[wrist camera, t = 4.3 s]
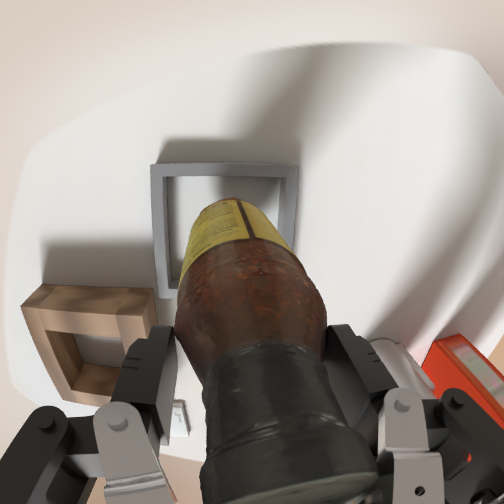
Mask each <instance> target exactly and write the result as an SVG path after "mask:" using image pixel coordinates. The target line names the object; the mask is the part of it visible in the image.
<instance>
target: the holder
mask: <svg viewBox="0 0 504 504" xmlns="http://www.w3.org/2000/svg"><path fill="white" fill-rule="evenodd" d="M20 307H21V310H22V313H23V316H24V318H25V321H26V324H27V326H28V329H29V331H30V334H31V336H32V339H33V341H34V344H35V346H36V348H37V350H38V353H39V355H40V357H41V359H42V361H43V363H44V365H45V368H46V370H47V372H48V374H49V376H50V377H51V379H52V381H53V383H54V385H55V387H56V389H57V391H58V392H59V394H60V396H61V398H62V399H63V400H66V401H70V402H75V403H80V404H85V405H90V406H96V407H101V406H103V405H105V404H107V403H110V400H111V397H112V394H113V391H114V388H115V385H116V382H117V379H118V376H119V374H120V371H121V368H116V367H107V366H98V365H91V364H84V363H83V361H82V358H81V356H80V353H79V350H78V348H77V345H76V342H75V340H74V337H73V334H72V333H75V334H84V335H94V336H105V337H118V338H121V340H122V344H123V348H124V351H125V355H126V354H127V351H128V349H129V346H130V345H131V344H133V343H134V342H135V341H136V340H137V339H138V338H144V339H148V336H149V333H150V330H151V327H152V325H158V322H157V315H156V309H155V301H154V294H153V288H116V287H87V286H65V285H47V284H42V285H41V286H40V287H39V288H38V289H37V290H36V291H35V292H34V293H33V294H32V295H31V296H30V297H29V298H28V299H27V300H26V301H25V302H24V303H23V304H22V305H21V306H20Z"/></svg>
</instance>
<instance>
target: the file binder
mask: <svg viewBox="0 0 504 504" xmlns="http://www.w3.org/2000/svg"><path fill="white" fill-rule="evenodd" d="M421 368H422V370H423V371H424V372H425V373H426V375H427V376H428V377H429V379H430V380H431V381H432V382H433V384H434V385H435V389H434V391H433V393H434V395H435V396H436V397H437V399H439V398H440V397H441V395H442V394H443V392H444V391H445V390H447V389H449V388H458V389H461V390H463V391H465V392H466V393H467V394H468V395H469V396H470V397H471V398H472V399H474V400H475V401H476V402H477V403H478V404H479V405H480V406H481V407H482V408H483V409H484V410H485V411H486V412H487V413H488V414H489V415H490V416H491V417H492V418H493V419H494V420H495V421H496V422H497V423H498V424H499V425H500V427H501V428H502V429H503V430H504V376H503V375H502V374H501V373H500V372H499V371H498V370H497V369H496V368H495V367H494V366H493V364H491V362H490V361H489V360H488V359H487V358H486V357H485V356H484V355H483V354H481V353H480V352H479V351H478V350H477V349H476V348H475V347H474V346H473V345H472V344H471V343H470V342H469V341H468V340H467V339H466V338H465V337H464V336H463V335H462V334H457V335H454V336H450V337H447V338H444V339H440V340H437V341H434V342H433V344H432V346H431V348H430V351H429V353H428V355H427V357H426V359H425V361H424V363H423V365H422V367H421ZM467 461H471V455H470V453H469V457H468V460H467Z"/></svg>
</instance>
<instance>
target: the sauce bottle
mask: <svg viewBox="0 0 504 504" xmlns="http://www.w3.org/2000/svg"><path fill="white" fill-rule="evenodd" d="M177 307H178V308H177V312H176V317H175V318H176V319H175V325H174V335H175V336H176V338H177V340H178V341H179V342H180V344H181V346H182V348H183V350H184V352H185V354H186V356H187V357H188V359H189V361H190V363H191V365H192V367H193V369H194V371H195V373H196V375H197V377H198V379H199V380H200V382H201V384H202V386H203V391H202V401H203V404H204V406H205V409H206V419H205V422H206V426H207V440H206V444H207V447H206V453H207V456H206V461H205V463H204V465H203V466H202V467H201V471H200V475H199V478H200V483H201V485H200V489H201V491H202V499H203V504H350V503H352V502H354V501H356V500H357V499H358V498H360V497H361V496H362V495H363V494H364V493H365V492H366V491H367V490H368V489H369V488H370V487H371V486H372V485H373V484H374V483H375V482H376V481H377V480H378V479H379V475H380V473H379V470H378V467H377V465H376V463H375V460H374V457H373V454H372V452H371V450H370V448H369V447H368V444H367V442H366V439H365V438H364V436H363V435H362V434H360V433H359V432H357V431H356V430H355V429H353V428H351V427H350V426H349V424H348V422H347V420H346V418H345V416H344V414H343V411H342V409H341V407H340V405H339V403H338V401H337V398H336V396H335V394H334V392H333V390H332V388H331V386H330V383H329V376H328V371H327V369H326V367H325V365H324V363H323V362H324V359H325V352H326V329H327V311H326V308H325V304H324V303H323V299H322V297H321V296H320V293H319V291H318V290H317V289H316V287H315V285H314V283H313V282H312V281H311V279H310V278H309V277H308V276H307V274H306V271H305V269H304V267H303V265H302V264H301V262H300V261H299V259H298V258H297V257H296V255H295V254H294V253H293V251H292V250H291V249H290V247H289V246H288V245H287V243H286V242H285V241H284V239H283V238H282V237H281V235H280V234H279V233H278V231H277V230H276V228H275V227H274V226H273V225H272V223H271V222H270V221H269V219H268V218H267V217H266V216H265V214H264V213H263V212H262V211H261V210H260V209H258V208H257V207H256V206H254V205H252V204H250V203H248V202H245V201H242V200H239V199H236V198H229V199H223V200H219V201H217V202H215V203H213V204H211V205H209V206H208V207H206V208H204V210H203V211H201V213H200V215H199V216H198V218H197V219H196V221H195V222H194V224H193V226H192V229H191V233H190V237H189V241H188V245H187V249H186V254H185V258H184V262H183V267H182V272H181V277H180V282H179V287H178V293H177Z"/></svg>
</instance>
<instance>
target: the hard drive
mask: <svg viewBox="0 0 504 504" xmlns="http://www.w3.org/2000/svg"><path fill="white" fill-rule="evenodd" d="M170 436H186V437H189V428H188V424H187V420H186V416H185V411H184V407H183V403H179V402H173V410H172V419H171V428H170Z"/></svg>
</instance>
